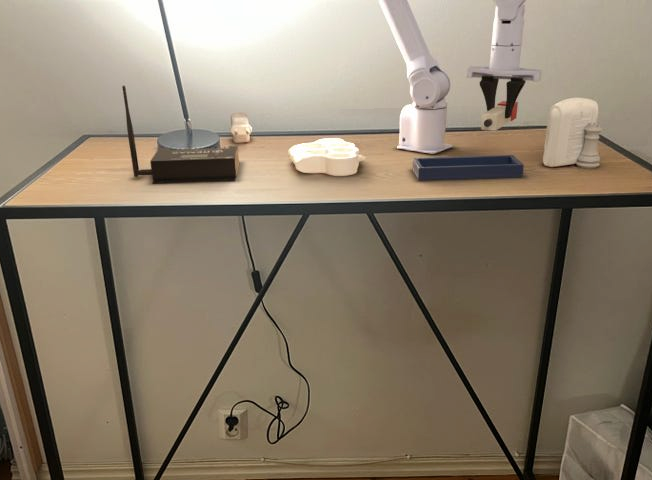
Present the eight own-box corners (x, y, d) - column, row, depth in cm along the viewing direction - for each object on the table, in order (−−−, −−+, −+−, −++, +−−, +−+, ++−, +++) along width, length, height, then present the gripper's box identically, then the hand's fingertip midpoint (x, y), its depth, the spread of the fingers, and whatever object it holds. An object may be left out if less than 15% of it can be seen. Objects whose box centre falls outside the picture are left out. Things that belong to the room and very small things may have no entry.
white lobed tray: (287, 156, 153) (354, 152, 155) (298, 179, 137) (373, 174, 139) (286, 140, 151) (354, 136, 153) (297, 161, 136) (373, 156, 138)
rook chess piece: (602, 164, 141) (609, 122, 137) (596, 170, 138) (603, 127, 134) (579, 162, 143) (585, 120, 139) (572, 167, 140) (579, 125, 136)
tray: (418, 181, 134) (418, 168, 133) (412, 170, 141) (412, 158, 140) (522, 177, 135) (524, 164, 134) (511, 167, 141) (512, 154, 140)
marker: (494, 132, 142) (496, 114, 140) (478, 130, 143) (479, 113, 141) (516, 118, 153) (518, 102, 151) (501, 117, 154) (502, 100, 152)
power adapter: (254, 148, 161) (252, 120, 158) (232, 149, 160) (230, 122, 157) (250, 137, 170) (248, 111, 167) (229, 138, 170) (227, 112, 167)
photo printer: (579, 158, 146) (588, 94, 140) (594, 162, 143) (604, 96, 137) (538, 164, 143) (546, 99, 137) (553, 169, 139) (561, 102, 133)
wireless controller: (239, 162, 149) (233, 74, 141) (235, 181, 137) (228, 85, 129) (143, 166, 149) (130, 78, 140) (130, 184, 137) (115, 89, 128)
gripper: (549, 43, 140) (539, 115, 147) (477, 41, 147) (471, 110, 154) (539, 47, 135) (530, 122, 142) (465, 45, 142) (460, 116, 148)
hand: (499, 116), depth 147 cm, fingers closed on marker, 3 cm apart
